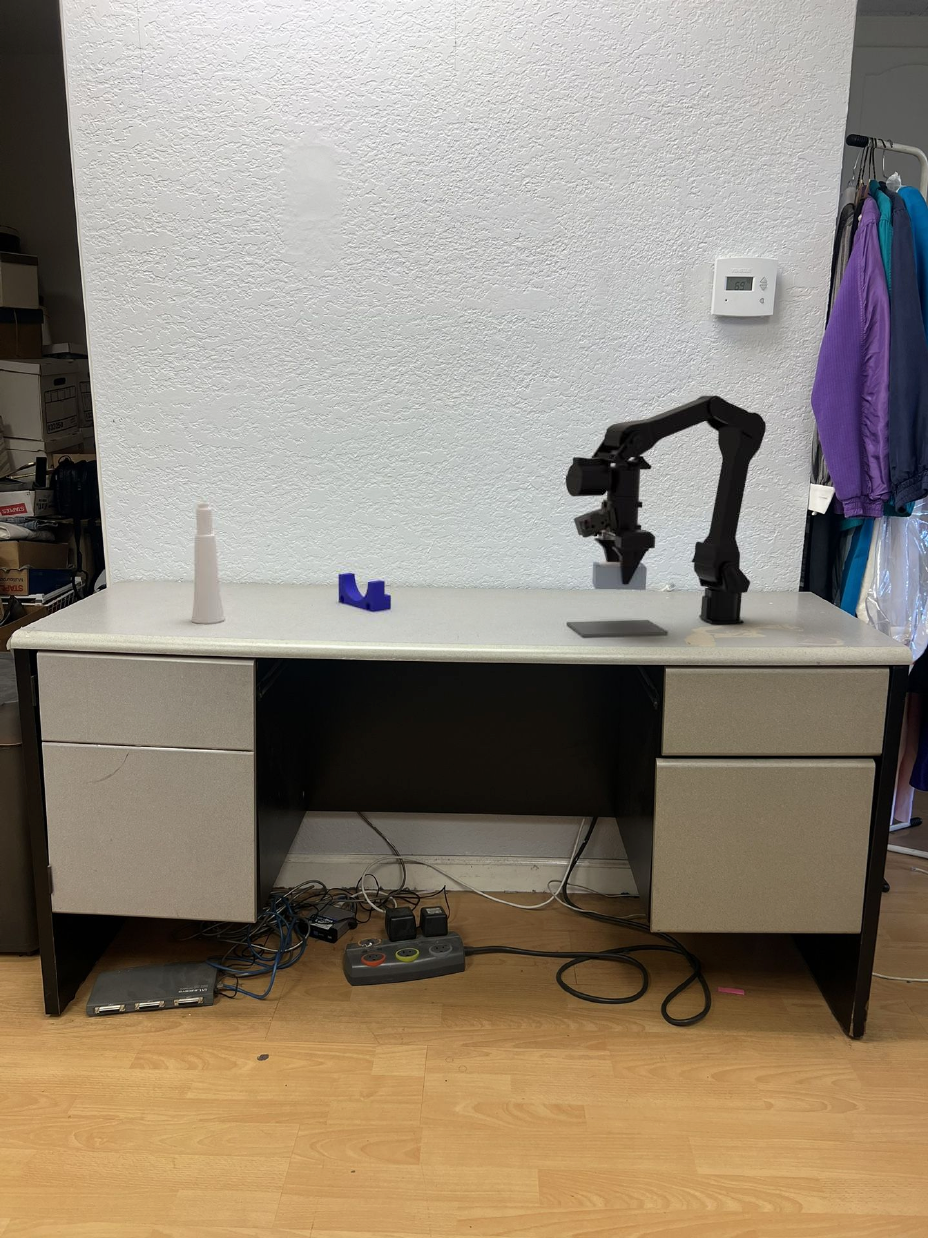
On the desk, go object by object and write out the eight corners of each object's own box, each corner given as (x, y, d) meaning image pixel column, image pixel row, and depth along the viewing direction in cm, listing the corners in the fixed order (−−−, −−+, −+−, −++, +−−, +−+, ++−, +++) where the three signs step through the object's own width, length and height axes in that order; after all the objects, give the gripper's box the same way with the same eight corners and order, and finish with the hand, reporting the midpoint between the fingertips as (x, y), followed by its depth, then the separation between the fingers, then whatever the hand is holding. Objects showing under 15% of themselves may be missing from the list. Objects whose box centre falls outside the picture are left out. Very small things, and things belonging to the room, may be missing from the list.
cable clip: (390, 610, 199) (390, 580, 198) (372, 612, 196) (372, 582, 195) (356, 600, 208) (356, 572, 207) (338, 602, 205) (338, 574, 204)
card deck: (592, 583, 185) (593, 561, 184) (640, 583, 185) (642, 562, 184) (595, 589, 179) (596, 566, 178) (645, 589, 179) (646, 567, 178)
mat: (647, 622, 190) (647, 619, 190) (667, 634, 180) (667, 631, 180) (566, 625, 187) (566, 622, 187) (582, 637, 177) (582, 634, 177)
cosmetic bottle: (191, 624, 183) (186, 504, 178) (191, 617, 188) (186, 501, 184) (225, 623, 184) (221, 504, 180) (224, 616, 190) (219, 500, 185)
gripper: (564, 490, 186) (562, 573, 189) (595, 500, 168) (592, 591, 171) (621, 490, 188) (618, 572, 191) (658, 500, 170) (653, 590, 173)
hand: (618, 580), depth 182 cm, fingers closed on card deck, 6 cm apart
